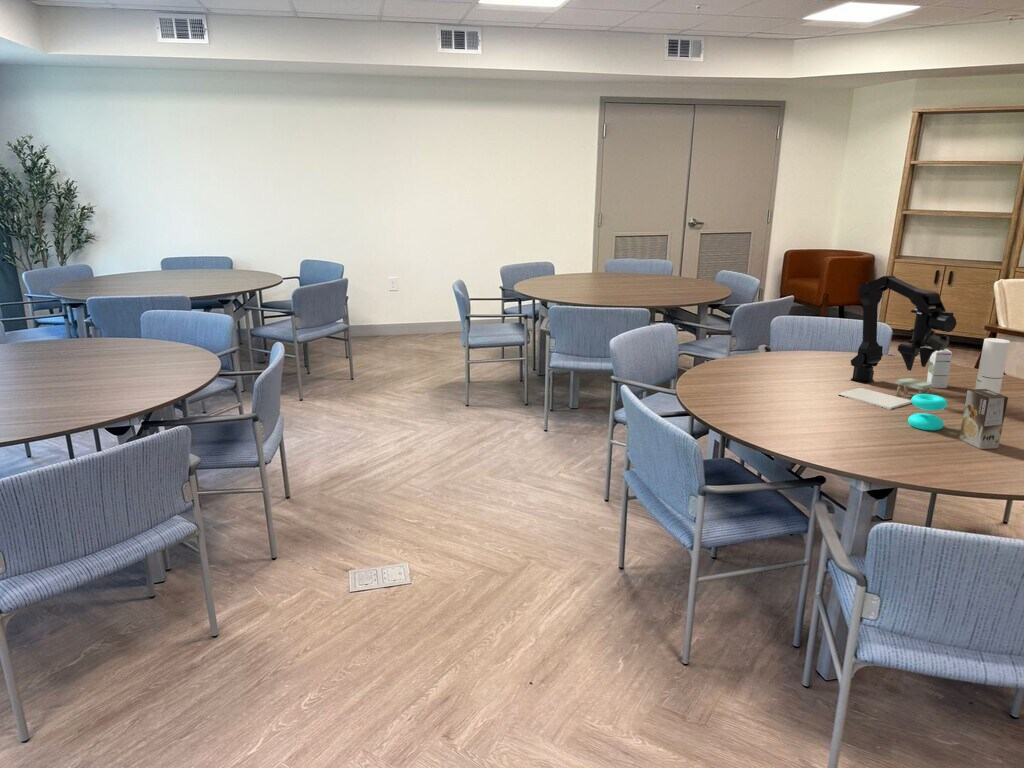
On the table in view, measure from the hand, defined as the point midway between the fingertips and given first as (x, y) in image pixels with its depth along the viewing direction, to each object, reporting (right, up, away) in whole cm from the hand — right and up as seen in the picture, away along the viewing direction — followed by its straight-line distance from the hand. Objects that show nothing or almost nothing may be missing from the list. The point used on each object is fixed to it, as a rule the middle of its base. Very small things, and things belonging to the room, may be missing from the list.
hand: (916, 368), depth 247 cm
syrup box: (+17, -7, +16) cm, 25 cm away
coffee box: (-7, -24, -42) cm, 49 cm away
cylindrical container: (+16, -15, -13) cm, 25 cm away
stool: (0, -11, +3) cm, 11 cm away
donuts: (-14, -20, -27) cm, 36 cm away
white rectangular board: (-15, -11, +1) cm, 19 cm away
